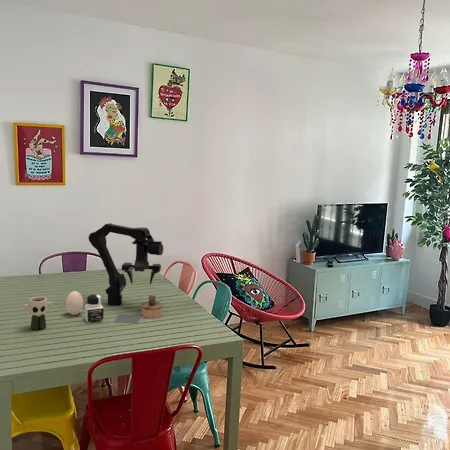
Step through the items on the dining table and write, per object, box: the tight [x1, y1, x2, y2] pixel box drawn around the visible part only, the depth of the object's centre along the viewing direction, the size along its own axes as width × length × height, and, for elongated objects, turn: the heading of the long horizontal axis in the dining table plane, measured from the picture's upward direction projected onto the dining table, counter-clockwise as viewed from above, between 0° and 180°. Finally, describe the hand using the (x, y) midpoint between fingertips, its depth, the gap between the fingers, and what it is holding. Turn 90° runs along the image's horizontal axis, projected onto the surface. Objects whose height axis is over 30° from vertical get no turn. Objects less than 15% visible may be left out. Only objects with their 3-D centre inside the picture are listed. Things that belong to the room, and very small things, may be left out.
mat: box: [113, 313, 143, 325], centre depth 212 cm, size 11×11×1 cm
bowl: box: [140, 307, 163, 319], centre depth 219 cm, size 10×10×4 cm
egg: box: [65, 290, 84, 316], centre depth 215 cm, size 8×8×11 cm
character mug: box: [23, 296, 53, 330], centre depth 197 cm, size 11×7×13 cm, turn 119°
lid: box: [141, 295, 164, 310], centre depth 218 cm, size 10×10×5 cm
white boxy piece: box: [84, 294, 105, 324], centre depth 208 cm, size 7×7×12 cm
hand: (141, 284), depth 227 cm, fingers open, 9 cm apart
